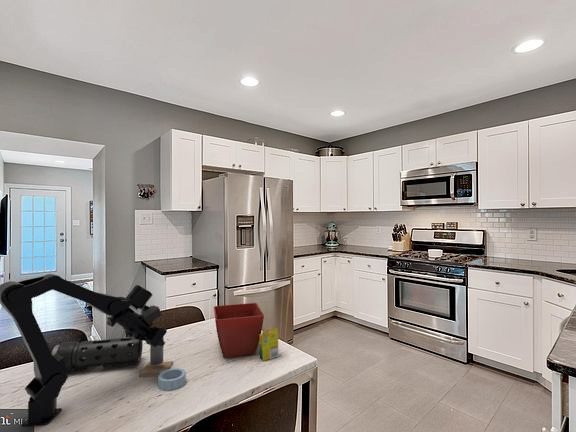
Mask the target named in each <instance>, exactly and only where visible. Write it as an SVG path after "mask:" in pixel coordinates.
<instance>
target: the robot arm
mask: <svg viewBox="0 0 576 432" xmlns="http://www.w3.org/2000/svg"><path fill="white" fill-rule="evenodd" d="M50 291H55V292H58V293H61V294H63V295H66V296H68V297H71V298H74V299H76V300H79V301H81V302H84V303H86V304H87V305H89V306H90V307H92V308H93V309H94V310H96V311H98V312H99V313H102V314H104V315H106V316H107V318H106V319H107V321H106V325H107V326H110V327H112V328H113V327H114V326H115V325H116V324H118V325H120V326H121V327H122V329H124V334H126V336H129V337H134V338H135V339H138V340H142V341H144V342H145V343H146V344H147V345H149V346H150V345H151V346H153V347H156V346H157V345H158V346H163V347H164V346H165V344H166V342H165V340H163V339H162V338H163V337H165V335H166V334H167V332H168V331H167V329H166V328H164V327H163V326H160V325H156V326H155V325H154V323H153V322H154V321H155V320H157V319H158V318H159V317H161V316H162V315H163V314H162V311H161V309H160V307H159V306H157V305H146V304H147V303H148V302H149V300H150V299H151V298H152V296H153V293H151V292H150V290H147V289H145V288H144V287H143V286H141V285H138V284H135V285H134V287H133V288H132V289H131V291H130V292H129V293H128V295H126V297H124V296H114V295H111V294H106V293H102V292H97V291H93V290H91V289H88V288H86V287H83V286H81V285H80V284H77V283H74V282H72V281H69V280H67V279H65V278H62V277H61V276H60V275H57V274H54V273H48V274H45V275H42V276H38V277H33V278H28V279H23V280H20V281H14V280H13V281H6V282H4V283H1V284H0V305H1V307H2V308H3V309H4V310H5V312H7V313H8V314H9V315H10V316H11V318H12V319H13V321H14V323H15V326H16V327H17V330H18V332H19V334H20V336H21V339H22V340H23V342H24V344H25V347H26V348H27V351H28V352H29V354H30V356H31V359H32V361H33V373H34V377H33V378H32V379H31V381H30V382H29V383H28V384H27V385H26V386H25V387H24V390H25V392H26V394H27V395H29V396H30V397H29V399H28V400H29V401H28V402H27V419H25V420H24V421H23V422H22V423H21V426H22V427H25V426H27V427H29V426H45V425H48V424H49V423H50V422H52V421H53V420H54V419H55V418H56V417H57V415H58V414H60V413H61V412H62V411H63V408H61V407H60V408H57V405H58V404H57V401H58V400H57V398H58V397H59V395H60V392H61V390H62V387H64V385H65V384H66V382H67V380H68V378H69V373H68V372H69V371H70V370H69V369H68V368H67V367H66V365H65V360H64V358H62V357H61V356H60V355H58V354H57V353H56V354H55V355H52V351H51V350H50V348H49V345H48V343H47V341H46V338H45V336H44V335H43V332H42V329H41V328H40V325H39V323H38V321H37V319H36V317H35V315H34V312H33V299H34V298H37V297H39V296H41V295H44V294H46V293H48V292H50ZM138 309H139V310H141V311H140V312H141V313H140V314H139V313H138V312H136V311H138ZM153 325H154V327H153Z"/></svg>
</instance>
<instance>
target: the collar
mask: <svg viewBox="0 0 576 432" xmlns="http://www.w3.org/2000/svg"><path fill="white" fill-rule="evenodd" d="M186 373H187V371H186V370H185V369H183V368H179V367H178V368H177V367H176V368H174V367H173V368H170V369H169V370H165V371H164V372H162V373H160V375H159V376H157V386H158V389H160V390H162V391H166V392H167V391H174V390H177V389H180V388H182V387H183V386H184V385H185V384H186V382H187V379H186V378H187V374H186Z"/></svg>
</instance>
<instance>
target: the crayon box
mask: <svg viewBox="0 0 576 432" xmlns="http://www.w3.org/2000/svg"><path fill="white" fill-rule="evenodd" d="M278 328H279V327H275V328H271V329H266V330H263V331H261V334H259V343H258V347H259V360H260V359H261V360H260V361H262V362H265V361H268V359H269V360H272V359H275V357H276V358H278V357H279V329H278ZM277 356H278V357H277Z"/></svg>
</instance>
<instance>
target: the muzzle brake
mask: <svg viewBox="0 0 576 432" xmlns="http://www.w3.org/2000/svg"><path fill="white" fill-rule="evenodd" d="M51 353H52V355H55V354H56V353H57V354H58V355H60V356H61V357H62V358H64V360H65V365H66V367H67V368H68V369H69V371H72V370H73V371H74V372H79V371H78V370H80V371H85V370H86V369H87V368H95V367H96V368H97V367H102V368H105V367H117V366H127V365H128V366H129V365H135V364H136V365H137V364H139V363H140V362H141V359H142V355H143V340H138V339H135V338H134V336H132V337H131V336H129V337H128V336H127V337H118V338H117V337H116V338H107V339H97V340H84V341H81V342H79V341H74V340H73V341H65V342H62V343H61V344H56V345H55V346H54V347H53V349H52V351H51Z"/></svg>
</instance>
